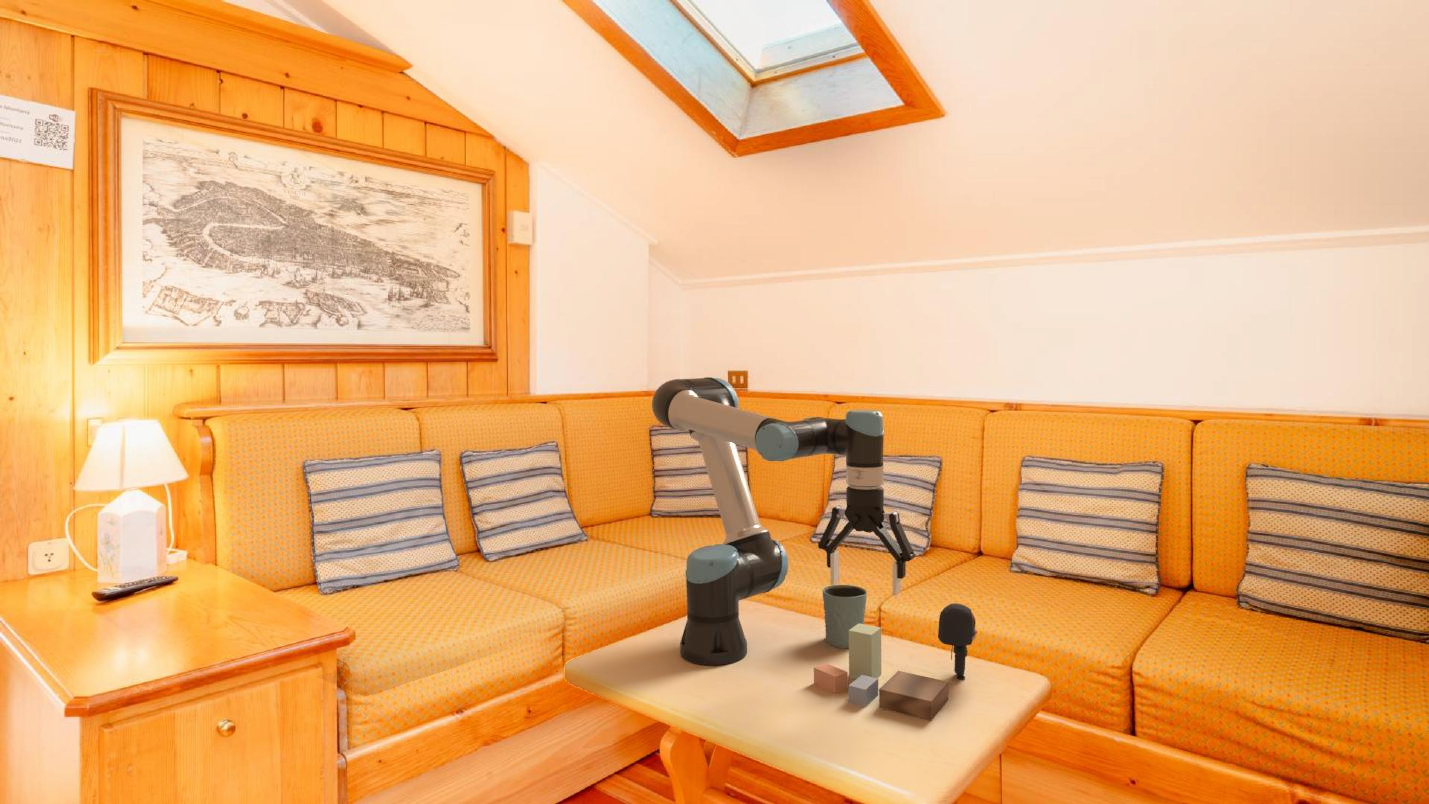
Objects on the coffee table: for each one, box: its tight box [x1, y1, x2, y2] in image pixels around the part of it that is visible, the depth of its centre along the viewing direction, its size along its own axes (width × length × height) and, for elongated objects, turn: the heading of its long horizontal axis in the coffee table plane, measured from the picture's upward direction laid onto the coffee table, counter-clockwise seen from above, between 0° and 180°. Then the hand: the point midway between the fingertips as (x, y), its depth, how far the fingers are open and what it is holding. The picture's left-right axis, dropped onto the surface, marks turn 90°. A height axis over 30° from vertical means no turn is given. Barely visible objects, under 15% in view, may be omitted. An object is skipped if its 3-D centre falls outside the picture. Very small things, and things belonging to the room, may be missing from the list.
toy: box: [937, 603, 978, 680], centre depth 160 cm, size 9×8×15 cm
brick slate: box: [848, 675, 879, 708], centre depth 151 cm, size 6×4×4 cm, turn 145°
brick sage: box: [848, 623, 882, 680], centre depth 161 cm, size 5×5×10 cm
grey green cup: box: [821, 584, 868, 649], centre depth 181 cm, size 10×10×12 cm
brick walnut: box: [878, 670, 949, 722], centre depth 148 cm, size 10×10×4 cm
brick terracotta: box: [813, 662, 849, 694], centre depth 157 cm, size 6×4×4 cm, turn 37°
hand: (865, 588), depth 160 cm, fingers open, 13 cm apart
